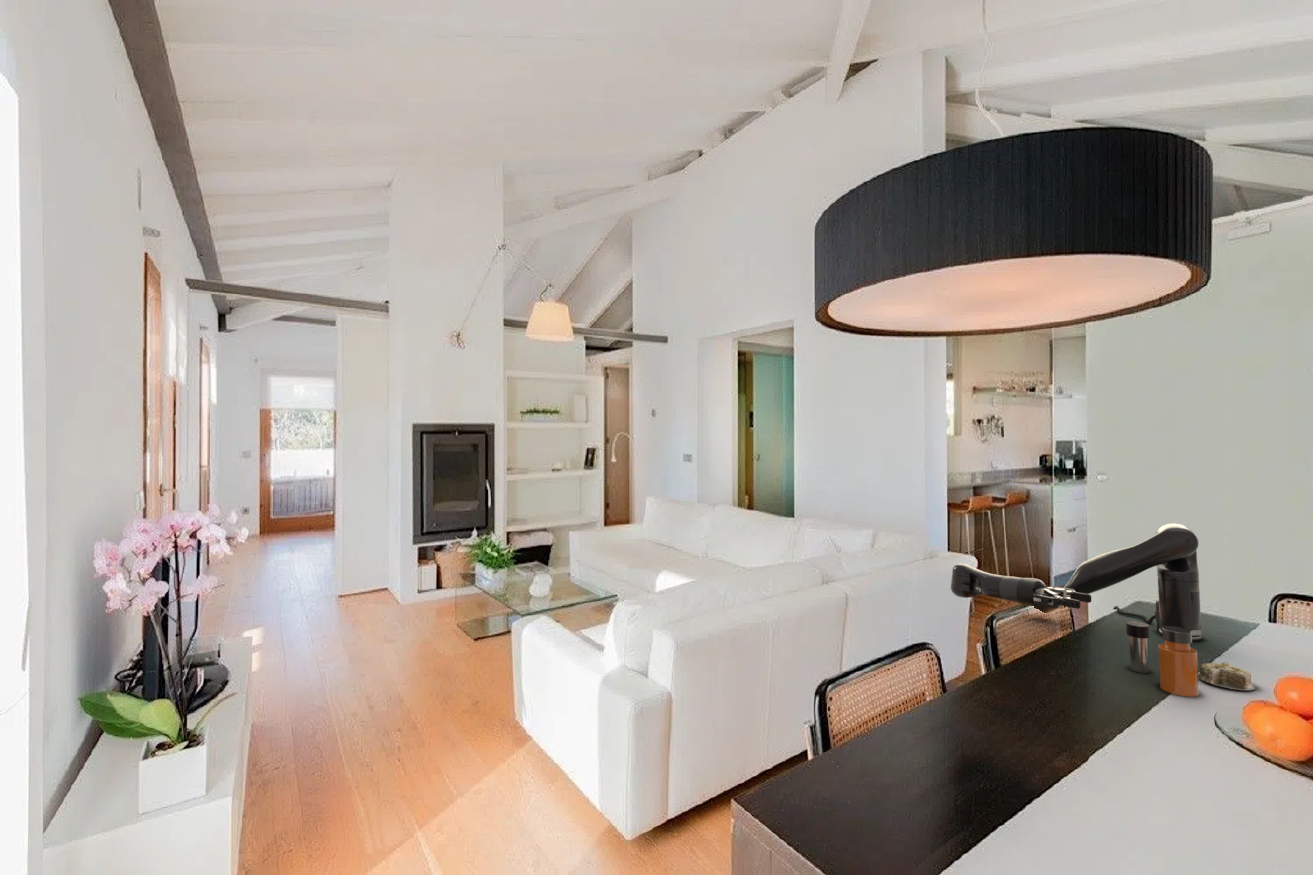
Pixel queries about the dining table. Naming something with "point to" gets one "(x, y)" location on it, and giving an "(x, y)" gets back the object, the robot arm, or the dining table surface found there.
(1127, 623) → the silver shaker
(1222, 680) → the cake
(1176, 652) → the bottle
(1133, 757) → the dining table surface
